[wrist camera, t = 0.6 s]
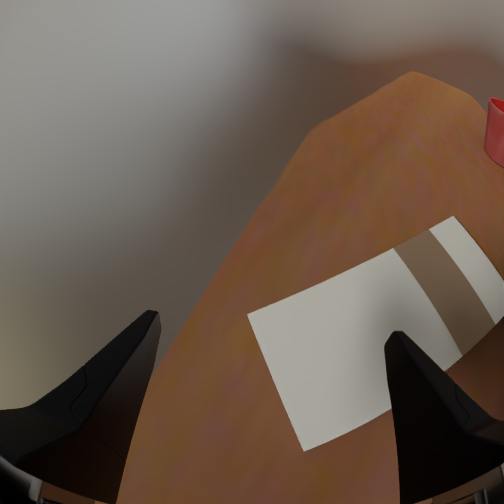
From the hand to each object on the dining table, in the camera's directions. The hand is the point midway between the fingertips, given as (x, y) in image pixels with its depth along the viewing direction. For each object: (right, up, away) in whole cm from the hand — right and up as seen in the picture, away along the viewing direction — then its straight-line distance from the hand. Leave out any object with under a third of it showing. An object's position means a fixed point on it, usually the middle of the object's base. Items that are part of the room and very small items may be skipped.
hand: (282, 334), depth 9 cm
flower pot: (+43, +20, +21) cm, 52 cm away
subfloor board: (+12, -3, +11) cm, 17 cm away
